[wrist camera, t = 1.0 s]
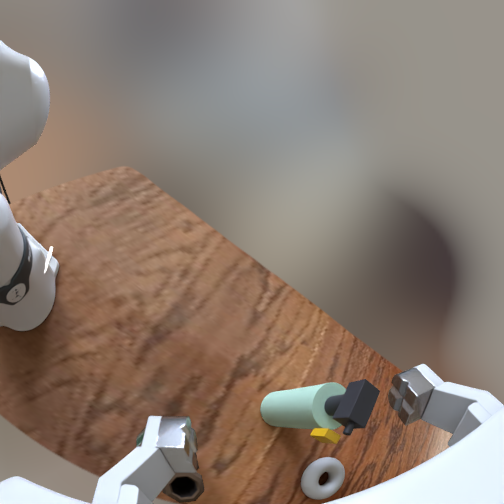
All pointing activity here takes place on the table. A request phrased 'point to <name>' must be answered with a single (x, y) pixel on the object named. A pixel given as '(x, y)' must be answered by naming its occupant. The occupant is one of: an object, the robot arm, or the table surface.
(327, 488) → the donut
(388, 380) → the table surface
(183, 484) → the beer bottle
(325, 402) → the spray bottle
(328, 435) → the block
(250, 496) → the table surface
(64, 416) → the table surface
